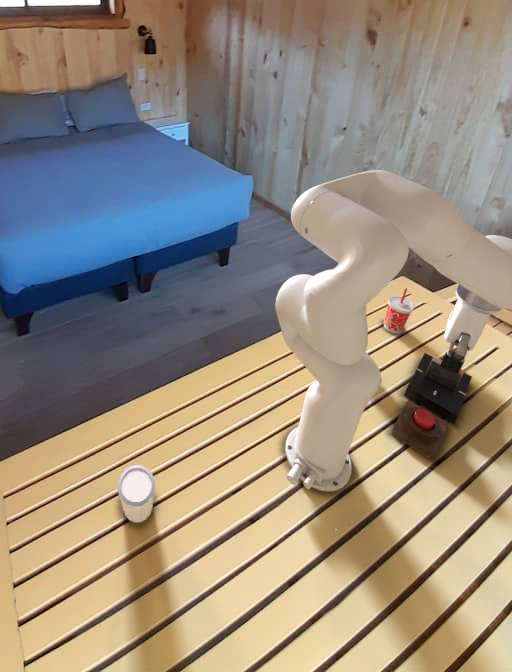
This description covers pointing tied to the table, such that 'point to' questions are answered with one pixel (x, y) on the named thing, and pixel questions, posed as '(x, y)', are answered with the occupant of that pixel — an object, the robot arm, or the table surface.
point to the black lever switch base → (437, 392)
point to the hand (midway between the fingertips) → (451, 355)
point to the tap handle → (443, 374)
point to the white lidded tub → (136, 492)
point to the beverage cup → (397, 313)
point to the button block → (419, 431)
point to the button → (424, 419)
